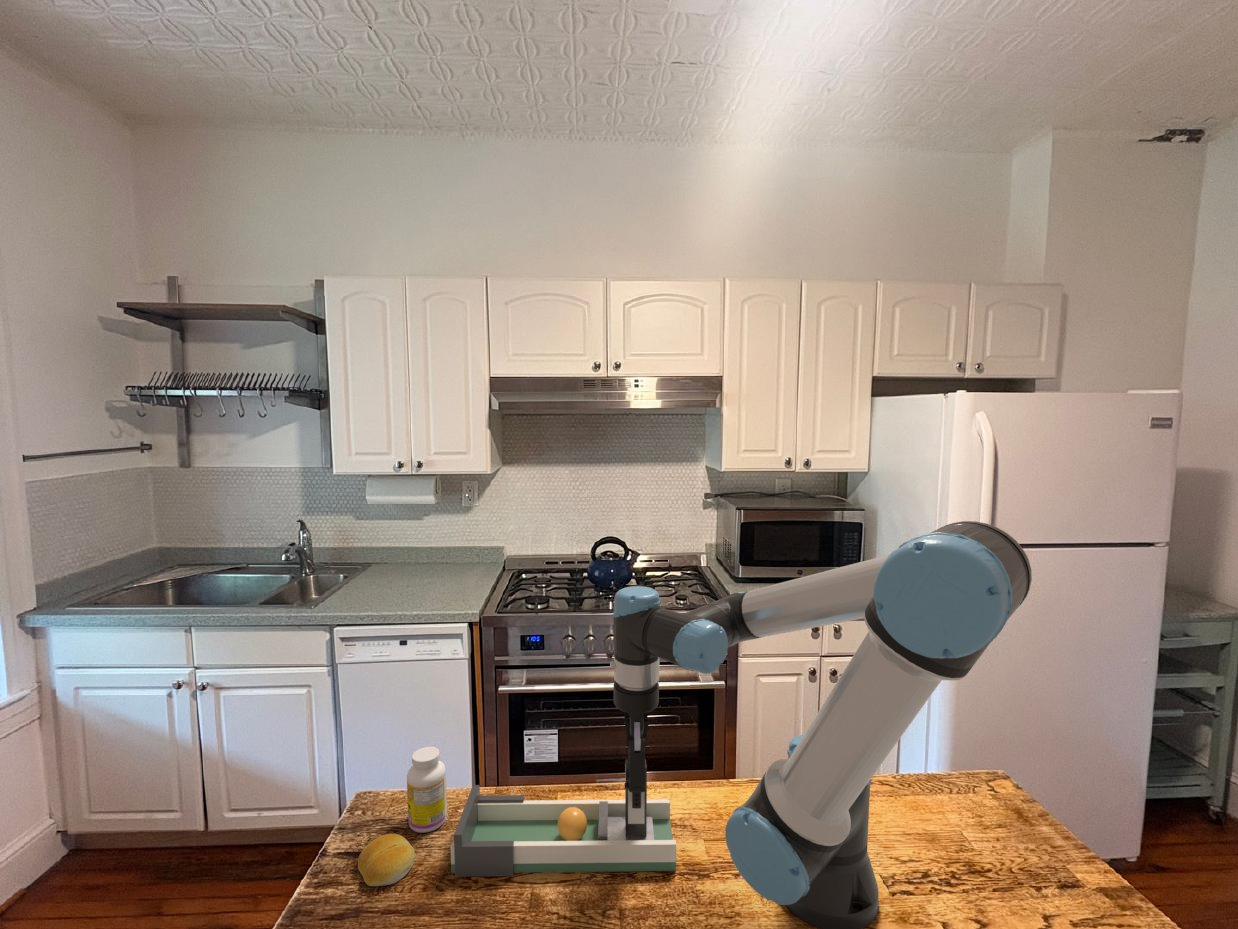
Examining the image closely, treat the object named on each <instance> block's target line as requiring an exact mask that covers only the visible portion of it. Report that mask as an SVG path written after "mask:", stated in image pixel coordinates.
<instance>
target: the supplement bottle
mask: <svg viewBox="0 0 1238 929" xmlns="http://www.w3.org/2000/svg"><path fill="white" fill-rule="evenodd" d="M411 764H412V766H411V767H410V768H409V769H408V771H407V774H406V787H407V790H406V791H407V797H406V798H407V817H408V818H407V819H408V821H407V822H408V826H409V828H410V829H411V830H412V831H414V832H415V833H421V834H423V833H431V832H432V831H435V830H438V829H439V828H440V827H441V826H443V824H444V823H445V822H446V819H447V818H448V806H447V805H448V802H447V801H448V800H447V774H446V773H447V769H446V766H445V764H444V763H443V761H441V760H440V750H439V748H437V747H435V746H425V747H422V748H421V747H420V748H418V749H417V750H415V751H414V752H413V753H412V756H411Z"/></svg>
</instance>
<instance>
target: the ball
mask: <svg viewBox="0 0 1238 929" xmlns="http://www.w3.org/2000/svg"><path fill="white" fill-rule="evenodd" d="M557 826H558V832H559V834H560V836H561V837H562V838H563V839H564V840H566V841H577V840H579V839H581V838H582V837H583V835H584V834H585V832H586V829H587V819H586V816H585V814H584V813H583V811H581V810H580V809H579V808H576V807H570V808H567V809H565V810H564V811H563V812H562V813H561V815H560V816H559V819H558V825H557Z"/></svg>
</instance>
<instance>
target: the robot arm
mask: <svg viewBox="0 0 1238 929" xmlns="http://www.w3.org/2000/svg"><path fill="white" fill-rule="evenodd" d="M1032 574H1033V573H1032V567H1031V563H1030V560H1029V558H1028V555H1027V553H1026V552H1025V550H1024V548H1023V547H1022V546H1021V545H1020V543H1019V542H1018V541H1017V540H1016V539H1015V538H1014V537H1013V536H1011V535H1010V534H1009V533H1008V532H1006V531H1005V530H1003V529H1000V528H999V527H997V526H994V525H991V524H988V523H986V522H980V521H976V520H975V521H969V520H964V521H956V522H952V523H949V524H946V525H943V526H941V527H940V528H938V529H936V530H935V529H934V530H933V531H931V532H929V533H924V534H921V535H919V536H916V537H913V538H911V539H909V540H907V541H906V542H905V541H904V542H902V543H901V544H899V546H898V548H896V549H895V550H893V551H892V552H891V553H890V554H887V555H886V554H885V555H882V556H879V557H875V558H870V559H868V560H864V561H859V562H856V563H852V564H847V565H844V566H840V567H836V568H832V569H830V570H824V571H821V572H818V573H814V574H809V575H806V576H801V577H799V578H794V579H790V580H786V581H782V582H778V583H776V584H771V585H767V586H763V587H758V588H755V589H752V590H748V591H740V592H733V593H731V594H727V595H726V596H725V595H724V597H722V598H720V599H718V600H715V601H712V602H710V603H708V604H705V605H702V606H700V607H697V608H694V609H692V610H689V611H687V612H678V611H675V610H671V609H668V608H665V607H662V606H660V605H661V601H660V594H659V592H658V591H657V590H656V589H655V588H652V587H649V586H642V585H638V586H637V585H634V586H627V587H624V588H621V589H619V590H618V591H617V592H616V593H615V595H614V599H613V600H614V602H613V614H612V618H613V620H612V621H613V622H612V623H613V661H610V663H609V666H610V668H613V679H614V682H613V704H614V706H615V707H616V708H617V709H618V710H620V711H621V712H624V713H623V717H624V718H623V719H624V730H625V745H626V747H627V756H626V757H627V758H626V759H629V783H625V782H624V790H625V789H628V824H644V800H645V759H646V747H647V746H648V730H649V718H648V716H649V715H648V713H650V712H653V711H654V710H656V708H657V707H658V706H659V704H660V703H659V702H660V700H659V699H660V698H659V697H660V685H659V681H660V659H662V660H664V661H666V662H669V663H671V664H673V665H675V666H679V667H680V668H682V669H685V670H686V671H692V672H697V673H700V674H703V675H704V674H705V675H708V674H712V673H715V672H716V671H718V670H719V669H720V666H721V665H720V664H723V663H724V661H725V659H726V657H727V652H728V648H730V647H733V646H734V645H737V644H739V643H742V642H747V641H750V640H751V641H752V640H753V641H754V640H757V639H760V638H764V637H771V636H776V635H780V634H781V635H782V634H787V633H791V632H798V631H802V630H809V629H813V628H819V627H824V626H829V625H836V624H840V623H845V622H851V621H856V620H861V619H862V620H864V622H865V626H866V628H867V630H868V632H867V633H866V635H865V637H864V638H863V640H862V642H861V643H860V645H859V647H858V648H857V650H856V651H855V652H854V654H853V656H852V657H851V659H850V661H849V663H848V664H847V666H846V667H845V668H844V670H843V671H842V673H841V675H840V677H839V678H838V680H837V681H836V684H834V686H833V688H832V689H831V690H830V692H829V694H828V696H827V697H826V699H825V700H824V702H823V703H822V706H821V707H820V709H819V710H818V712H817V714H816V715H815V717H813V718H814V719H813V720H812V721H811V722H810V725H809V726H808V727H807V730H806V731H805V733H804V734H798V735H797V736H794V737H792V739H791V740H790V741H789V743H788V744H789V745H788V749H787V750H786V752H787V758H782V759H779V760H775V761H773V762H772V763H771V764H770V765H769V766H768V768H767V769H766V771H765V773H764V774H763V776H762V777H761V779H760V780H759V782H758V784H757V786H756V787H755V788H754V791H753V792H752V794H751V795H750V796H749V797H748V799H747V800H746V801H745V802H744V803H743V804H741V806H739V807H737V808H735V809H734V810H733V812H732V814H731V815H730V817H729V818H728V819H727V822H726V825H725V830H724V831H725V832H724V835H725V844H726V847H727V850H728V852H729V853H730V854H729V855H730V858H731V861H732V863H733V865H734V866H735V868H736V869H737V872H738V873H739V874H740V875H741V877H742V878H743V880H744V881H745V882H746V883H747V884H748V885H749V887H751V889H753V890H754V891H755V892H756V893H757V894H759V896H761V897H762V898H764V899H765V900H766V901H771V902H774V903H775V904H777V905H779V906H780V905H782V906H785V907H786V908H787V909H788V910H789V911H791V913H792V914H794V916H796V917H797V918H799V919H800V920H802V921H804V922H805V923H808V924H810V925H811V926H814V927H816V928H819V929H864V928H867V927H868V926H870V925H871V924H872V923H873V921H874V920H875V919H876V916H877V914H878V911H879V894H880V893H879V892H880V891H879V886H878V882H877V880H876V876H875V873H874V869H873V865H872V862H871V860H870V856H869V852H868V839H869V819H870V815H869V814H870V796H871V795H870V794H871V783H872V779H873V777H874V776H875V774H876V772H877V771H878V769H879V768H880V767H881V765H883V763H884V761H885V760H886V758H888V756H889V755H890V753H891V752H892V750H893V749H894V747H895V746H896V744H897V743H898V742H899V740H900V739H901V737H902V736H903V735H904V733H905V732H906V731H907V729H908V728H909V726H910V725H911V724H912V723H913V721H914V720H915V718H917V716H918V714H919V713H920V711H921V710H922V708H923V707H924V706H925V704H926V703H927V701H928V700H929V699H930V697H931V696H932V695H933V693H934V692H935V690H936V689H937V687H938V686H939V685H940V683H941V682H942V681H959V680H963V679H964V678H965V677H967V675H968V674H969V673H970V671H971V669H972V668H973V667H974V666H975V664H976V663H977V662H978V660H979V659H980V658H981V656H982V655H983V654H984V653H985V651H986V650H987V648H988V646H989V645H990V644H991V643H993V641H994V640H995V639H996V638H997V637H998V635H999V634H1000V633H1001V632H1002V630H1003V629H1004V627H1005V626H1006V623H1007V621H1009V619H1010V618H1011V617H1012V615H1013V614H1014V613H1015V612H1016V610H1017V609H1018V608H1020V606H1021V605H1022V604H1023V602H1024V601H1025V600H1026V598H1027V597H1028V595H1029V593H1030V592H1029V591H1030V589H1031V584H1032V581H1033V580H1032V576H1033V575H1032ZM646 765H647V766H648V764H647V762H646Z"/></svg>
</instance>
